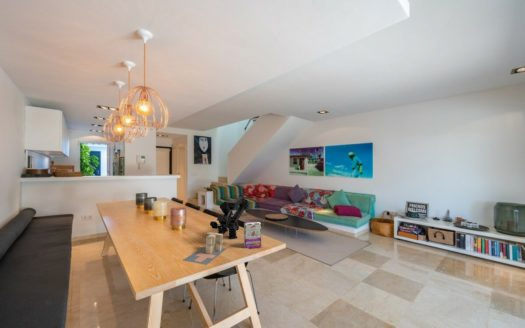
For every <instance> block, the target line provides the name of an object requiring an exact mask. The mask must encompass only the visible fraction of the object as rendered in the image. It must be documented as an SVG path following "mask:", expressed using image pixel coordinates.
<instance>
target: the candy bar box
mask: <svg viewBox="0 0 525 328" xmlns="http://www.w3.org/2000/svg"><path fill="white" fill-rule="evenodd" d="M243 247H244V249H260V248H262V223H261V221H250V222H249V221H248V222H243Z"/></svg>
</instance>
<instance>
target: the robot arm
mask: <svg viewBox="0 0 525 328" xmlns="http://www.w3.org/2000/svg"><path fill="white" fill-rule="evenodd" d="M249 207H250V201H249V200H248V199H246V198H245V197H243V196H238V197H237V198H236V199H234V200H232V201H224V202H222V203H220V205H219V209H220V210H221V213H222V214H223V215H217V219H216V221H214V220H211V221H210V222H209V225H210V227H211V228H212V229H215V230H217V233H219V234H223V235H224V234H226V233H227V232H228V235H227V238H228V239H229V240H232V239H238V236H237V231H239V229H240V225H239V223H238V221H239V219H240V218H241V216H242V214H243V213H244V211H247V210H248V209H249ZM233 211H235V212H233ZM217 221H218V222H217Z"/></svg>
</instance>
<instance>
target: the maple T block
mask: <svg viewBox="0 0 525 328" xmlns="http://www.w3.org/2000/svg"><path fill="white" fill-rule="evenodd" d="M205 246H206V254H212V253H213V252H215V251H219V252H220V251H221V250H223V248H224V234H219V233H218V232H207V233H206V235H205Z"/></svg>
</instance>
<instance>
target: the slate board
mask: <svg viewBox="0 0 525 328" xmlns="http://www.w3.org/2000/svg"><path fill="white" fill-rule="evenodd" d="M226 250H227V248H226V247H223V250H221V251H220V252H219V251H215V252H213V253H212V254H206V245H204V246H203V247H201V248H199V249H198V250H196V251H194V252H193V253H192V254H190V255H188V256H186V257H185V258H183V259H182V261H184V262H188V263H194V264H201V265H205V266H207V265H208V264H210V263H211V262H212V261H214V260H215V259H216V258H217V257H219V256H220V255H221V254H222V253H223V252H225V251H226Z"/></svg>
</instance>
